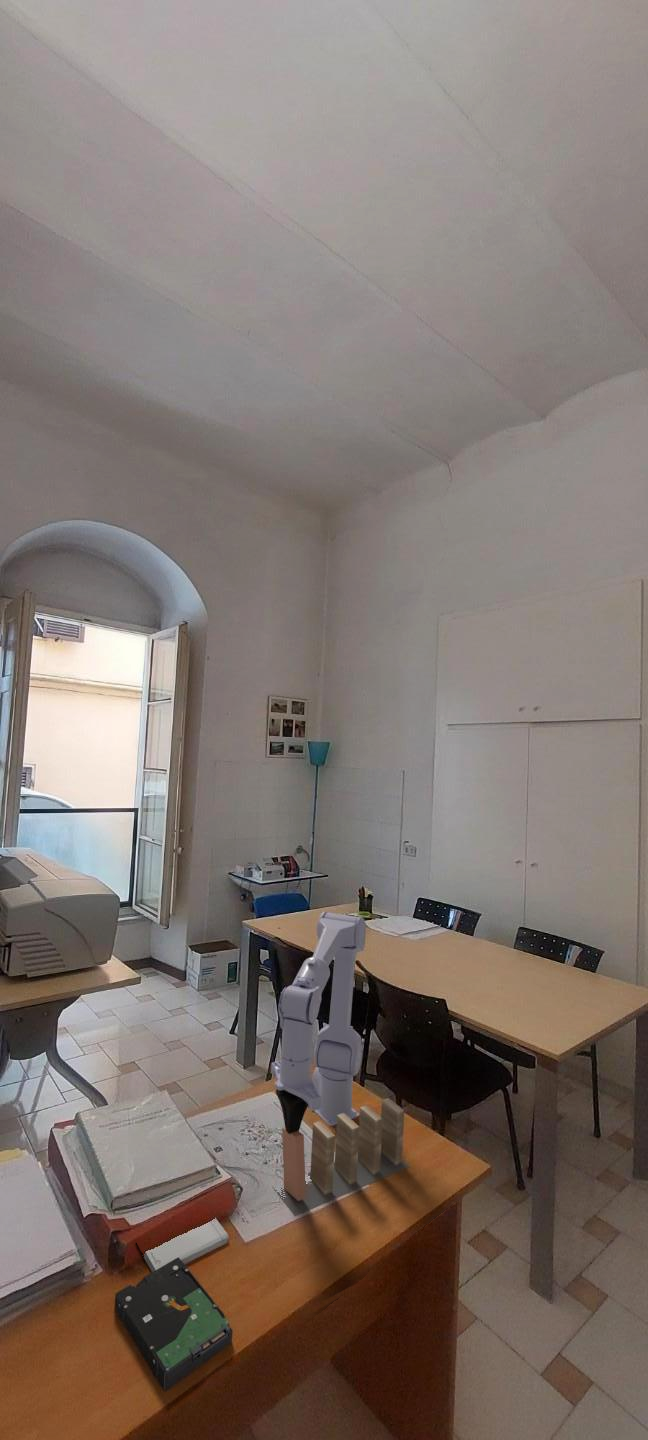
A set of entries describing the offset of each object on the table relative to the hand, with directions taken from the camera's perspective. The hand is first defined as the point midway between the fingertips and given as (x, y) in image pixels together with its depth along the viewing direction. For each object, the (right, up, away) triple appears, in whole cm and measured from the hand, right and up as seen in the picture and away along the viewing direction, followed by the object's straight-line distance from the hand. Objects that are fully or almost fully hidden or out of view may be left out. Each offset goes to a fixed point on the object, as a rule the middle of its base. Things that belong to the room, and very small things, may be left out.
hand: (292, 1131), depth 113 cm
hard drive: (-17, -10, -13) cm, 24 cm away
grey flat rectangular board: (+9, -11, +3) cm, 15 cm away
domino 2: (+5, -11, +1) cm, 12 cm away
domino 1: (+1, -10, -2) cm, 10 cm away
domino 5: (+19, -12, +10) cm, 24 cm away
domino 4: (+14, -11, +7) cm, 19 cm away
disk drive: (-15, -9, -28) cm, 33 cm away
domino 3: (+10, -11, +4) cm, 15 cm away
